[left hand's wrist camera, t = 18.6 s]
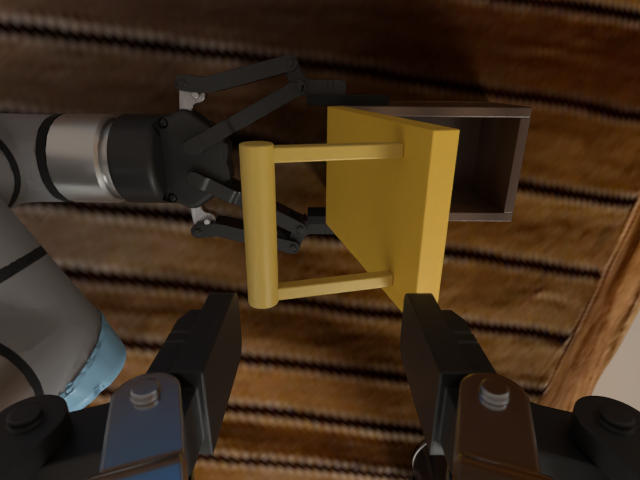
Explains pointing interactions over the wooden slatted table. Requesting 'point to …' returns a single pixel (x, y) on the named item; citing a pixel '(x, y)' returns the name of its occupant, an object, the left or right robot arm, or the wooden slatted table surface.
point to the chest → (475, 151)
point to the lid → (358, 205)
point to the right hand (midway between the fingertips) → (382, 160)
